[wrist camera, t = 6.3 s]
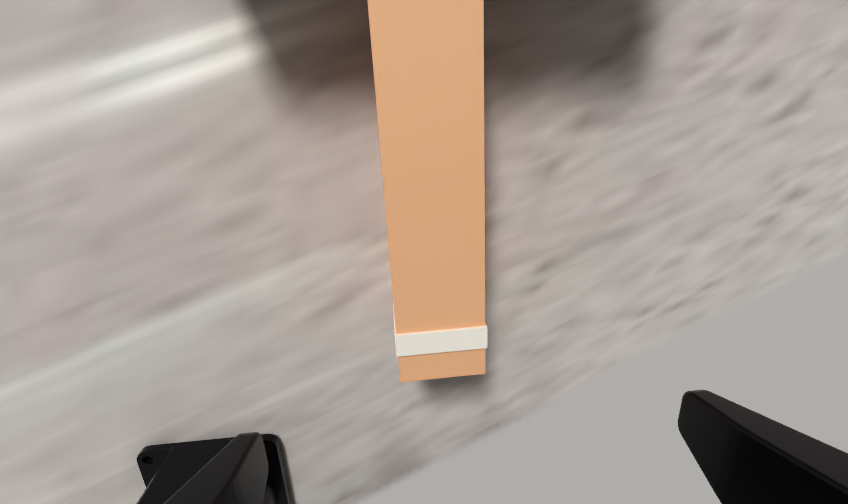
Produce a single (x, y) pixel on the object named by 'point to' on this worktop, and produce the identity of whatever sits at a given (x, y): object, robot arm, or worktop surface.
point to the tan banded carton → (433, 179)
